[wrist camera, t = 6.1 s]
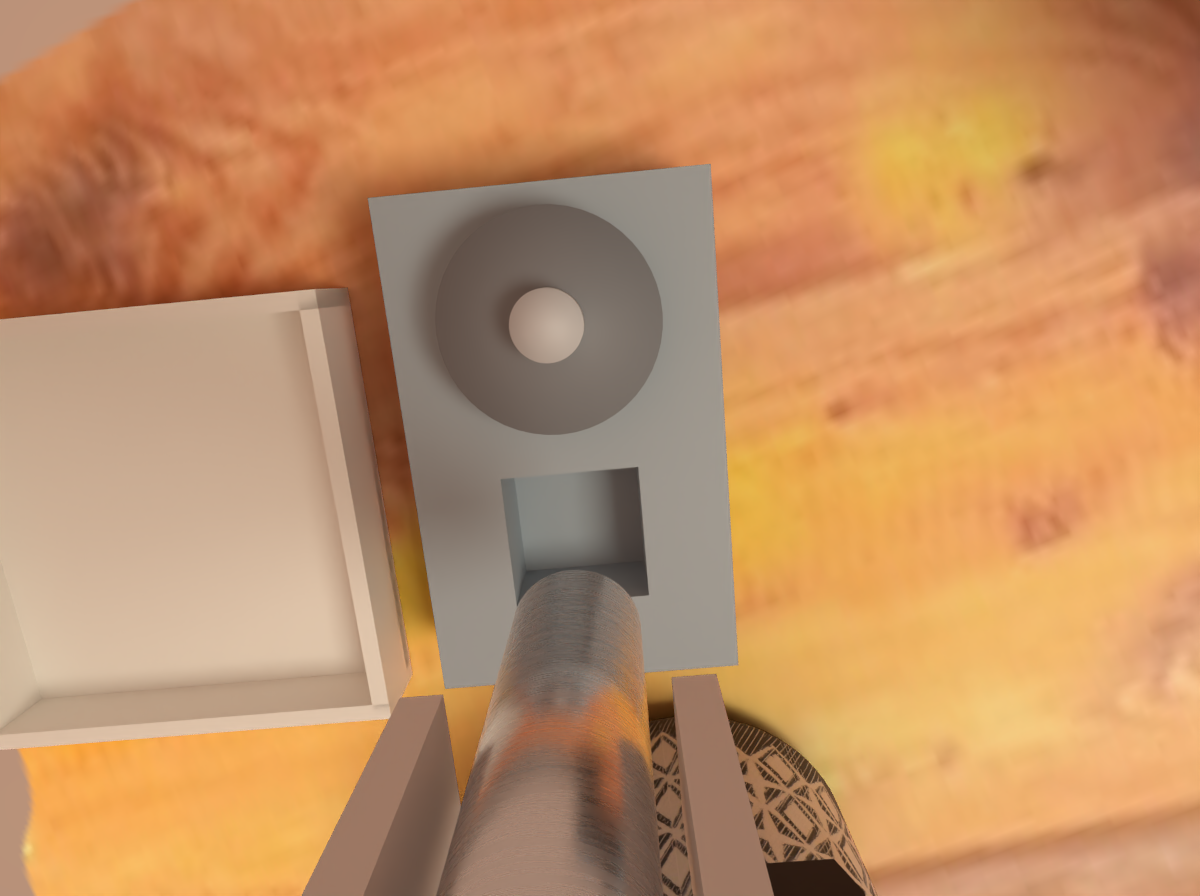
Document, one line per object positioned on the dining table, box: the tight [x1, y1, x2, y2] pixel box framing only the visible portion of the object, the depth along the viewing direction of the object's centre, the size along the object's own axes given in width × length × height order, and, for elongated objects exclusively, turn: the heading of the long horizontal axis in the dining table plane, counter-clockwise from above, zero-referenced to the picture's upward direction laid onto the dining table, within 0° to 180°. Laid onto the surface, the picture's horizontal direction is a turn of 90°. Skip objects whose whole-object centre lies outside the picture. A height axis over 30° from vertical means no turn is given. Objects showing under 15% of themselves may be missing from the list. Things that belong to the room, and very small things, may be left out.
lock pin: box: [436, 570, 663, 896], centre depth 11 cm, size 4×4×12 cm
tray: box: [0, 288, 413, 750], centre depth 26 cm, size 15×15×3 cm
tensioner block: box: [368, 164, 738, 689], centre depth 24 cm, size 16×10×7 cm, turn 5°
